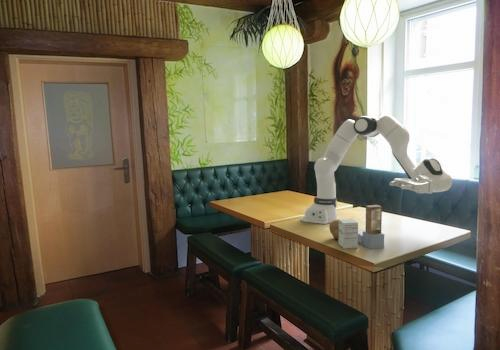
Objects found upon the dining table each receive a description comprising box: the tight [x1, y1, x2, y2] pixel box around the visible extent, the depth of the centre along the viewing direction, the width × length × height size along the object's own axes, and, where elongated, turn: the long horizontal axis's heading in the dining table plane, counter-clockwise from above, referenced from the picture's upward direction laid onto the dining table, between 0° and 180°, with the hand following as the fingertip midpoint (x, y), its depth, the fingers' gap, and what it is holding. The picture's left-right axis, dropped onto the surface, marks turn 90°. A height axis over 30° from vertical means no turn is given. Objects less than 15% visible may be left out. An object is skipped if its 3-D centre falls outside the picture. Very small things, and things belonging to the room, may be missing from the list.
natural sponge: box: [328, 219, 339, 240], centre depth 196 cm, size 9×9×10 cm
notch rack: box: [358, 229, 385, 250], centre depth 188 cm, size 7×16×6 cm, turn 13°
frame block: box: [365, 204, 383, 234], centre depth 183 cm, size 6×4×13 cm
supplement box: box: [338, 218, 359, 249], centre depth 184 cm, size 7×7×13 cm
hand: (396, 185), depth 186 cm, fingers open, 8 cm apart
